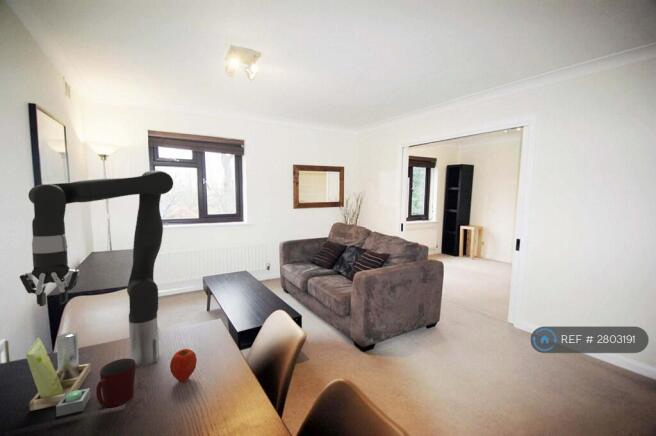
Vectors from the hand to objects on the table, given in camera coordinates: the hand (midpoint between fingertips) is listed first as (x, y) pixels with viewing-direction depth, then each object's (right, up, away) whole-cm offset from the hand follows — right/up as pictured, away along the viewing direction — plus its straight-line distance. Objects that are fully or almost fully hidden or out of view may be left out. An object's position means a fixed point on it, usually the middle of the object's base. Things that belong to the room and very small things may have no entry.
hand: (53, 304), depth 86 cm
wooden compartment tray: (-2, -31, +6) cm, 31 cm away
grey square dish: (+8, -31, -2) cm, 33 cm away
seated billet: (-4, -29, +10) cm, 31 cm away
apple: (+34, -31, +12) cm, 48 cm away
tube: (-1, -30, +1) cm, 30 cm away
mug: (+19, -32, +1) cm, 37 cm away
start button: (+8, -30, -2) cm, 31 cm away
